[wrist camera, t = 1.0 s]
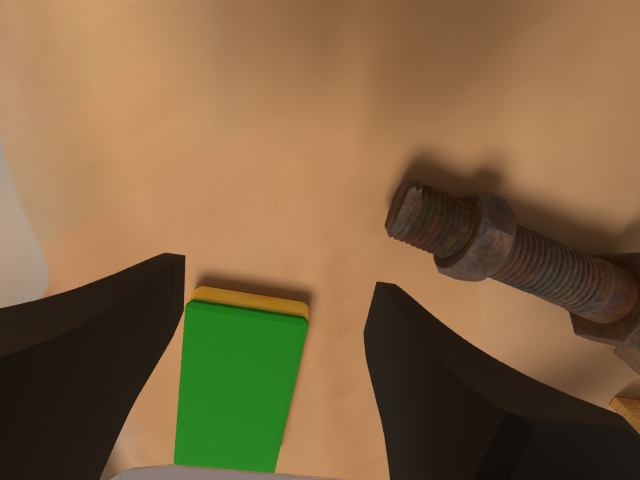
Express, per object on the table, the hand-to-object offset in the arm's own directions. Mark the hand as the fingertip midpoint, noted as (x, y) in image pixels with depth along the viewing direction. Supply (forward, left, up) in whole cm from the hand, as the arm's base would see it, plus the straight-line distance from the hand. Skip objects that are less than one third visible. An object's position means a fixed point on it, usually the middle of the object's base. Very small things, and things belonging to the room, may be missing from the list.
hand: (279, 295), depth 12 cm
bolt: (0, -13, -10) cm, 16 cm away
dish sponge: (-13, +2, -10) cm, 16 cm away
